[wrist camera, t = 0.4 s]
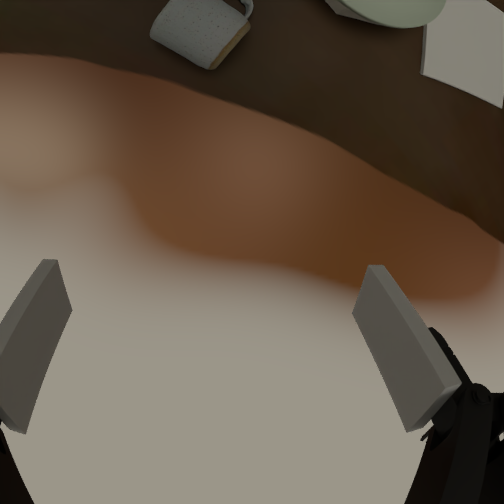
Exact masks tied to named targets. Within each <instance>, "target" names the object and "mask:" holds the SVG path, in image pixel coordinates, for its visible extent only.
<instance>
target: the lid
mask: <svg viewBox="0 0 504 504" xmlns="http://www.w3.org/2000/svg"><path fill="white" fill-rule="evenodd" d="M338 1H339V2H340V3H341V4H342V5H344V6H345V7H346V8H348V9H349V10H351V11H352V12H354V13H355V14H357V15H359V16H360V17H362V18H364V19H366V20H368V21H371V22H373V23H376V24H379V25H382V26H386V27H391V28H412V27H419V26H422V25H425V24H428V23H430V22H431V21H433V20H434V19H435V18H437V16H438V15H439V14H440V13H441V11H442V10H443V8H444V6H445V3H446V0H338Z"/></svg>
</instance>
